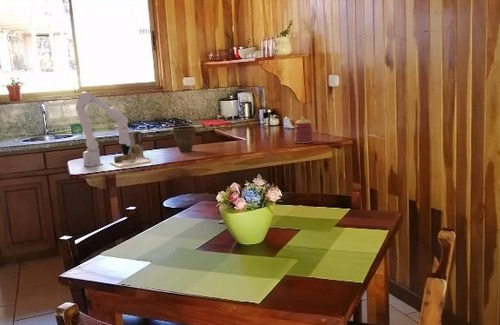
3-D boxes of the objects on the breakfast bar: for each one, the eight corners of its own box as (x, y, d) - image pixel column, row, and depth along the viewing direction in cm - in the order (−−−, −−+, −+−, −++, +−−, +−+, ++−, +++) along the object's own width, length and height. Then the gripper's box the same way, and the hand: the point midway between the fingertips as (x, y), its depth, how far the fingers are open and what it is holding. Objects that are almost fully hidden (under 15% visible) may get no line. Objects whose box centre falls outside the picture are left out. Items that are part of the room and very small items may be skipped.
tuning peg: (116, 162, 309) (115, 157, 309) (113, 161, 313) (113, 156, 312) (136, 159, 316) (136, 153, 316) (134, 158, 320) (133, 153, 319)
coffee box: (137, 155, 338) (135, 130, 335) (143, 155, 334) (141, 131, 331) (126, 157, 331) (123, 132, 328) (132, 158, 327) (130, 133, 324)
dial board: (118, 167, 301) (118, 165, 300) (110, 163, 314) (109, 161, 314) (150, 162, 311) (150, 160, 311) (141, 158, 324) (140, 156, 324)
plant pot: (201, 150, 341) (199, 126, 338) (182, 154, 332) (180, 129, 329) (188, 148, 353) (187, 125, 349) (170, 152, 343) (168, 128, 340)
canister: (313, 140, 359) (312, 115, 355) (313, 143, 346) (312, 117, 342) (294, 141, 360) (293, 116, 356) (294, 144, 347) (293, 118, 344)
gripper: (134, 134, 314) (136, 156, 316) (125, 132, 326) (128, 153, 328) (123, 136, 310) (125, 158, 313) (115, 134, 322) (117, 155, 325)
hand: (126, 156), depth 320 cm, fingers closed
